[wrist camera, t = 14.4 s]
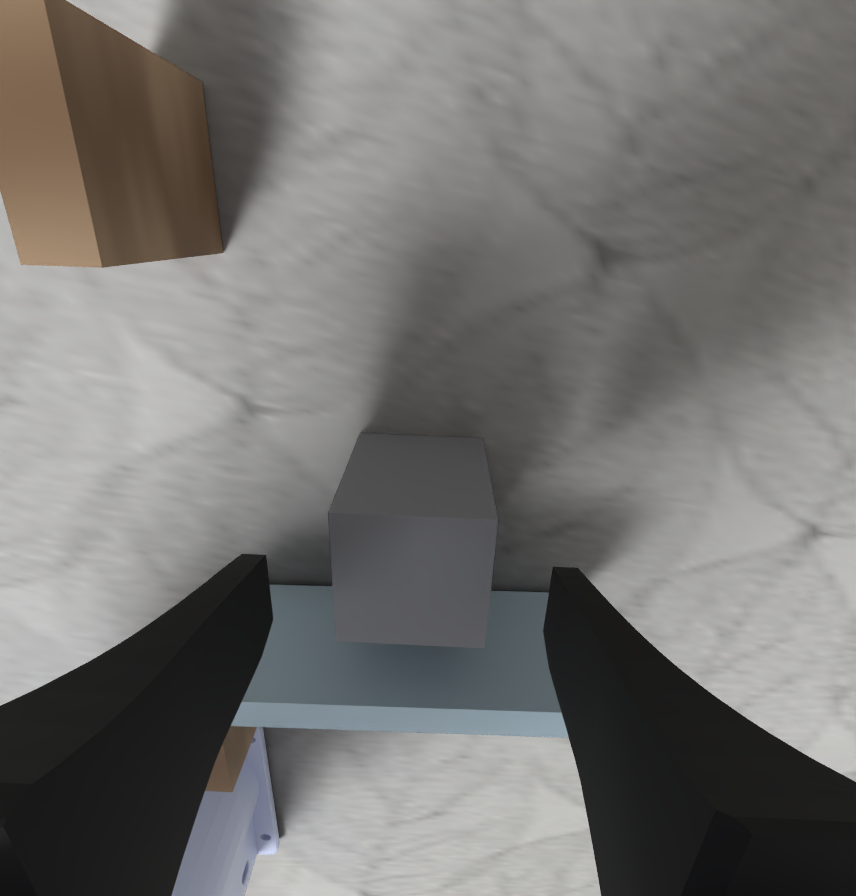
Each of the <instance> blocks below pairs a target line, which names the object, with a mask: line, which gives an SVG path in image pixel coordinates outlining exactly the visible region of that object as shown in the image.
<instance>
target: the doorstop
mask: <svg viewBox="0 0 856 896" xmlns="http://www.w3.org/2000/svg"><path fill="white" fill-rule="evenodd" d="M328 519H329V537H330V555H331V573H332V591H333V609H334V627H335V641H339V642H360V643H381V644H403V645H424V646H445V647H467V648H485V643H486V633H487V623H488V614H489V604H490V595H491V585H492V576H493V566H494V557H495V547H496V537H497V528H498V516H497V510H496V505H495V499H494V494H493V488H492V483H491V478H490V472H489V467H488V461H487V456H486V451H485V445H484V440H483V438H470V437H446V436H422V435H398V434H374V433H360V435H359V437H358V440H357V442H356V445H355V447H354V450H353V452H352V455H351V457H350V460H349V462H348V465H347V467H346V470H345V472H344V474H343V477H342V479H341V482H340V484H339V487H338V489H337V492H336V494H335V497H334V499H333V502H332V504H331V507H330V509H329V512H328Z"/></svg>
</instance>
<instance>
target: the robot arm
mask: <svg viewBox="0 0 856 896" xmlns="http://www.w3.org/2000/svg"><path fill="white" fill-rule="evenodd" d="M272 622H273V611H272V602H271V594H270V585H269V577H268V568H267V559H266V555H254V554H241V555H240V556H239V557H237V558H236V559H235V560H233V561H232V562H231V563H229V564H228V565H227V566H226V567H224V568H223V569H222V570H221V571H219V572H218V573H217V574H216V575H214V576H213V577H212V578H211V579H209V580H208V581H207V582H206V583H204V584H203V585H202V586H200V587H199V588H198V589H196V590H195V591H194V592H193V593H191V594H190V595H189V596H187V597H186V598H185V599H184V600H182V601H181V602H180V603H178V604H177V605H175V606H174V607H173V608H171V609H170V610H168V611H167V612H166V613H164V614H163V615H161V616H160V617H159V618H157V619H156V620H154V621H153V622H151V623H150V624H149V625H147V626H146V627H144V628H143V629H142V630H140V631H138V632H137V633H135V634H134V635H132V636H131V637H129V638H128V639H126V640H125V641H123V642H121V643H120V644H118V645H116V646H115V647H113V648H111V649H110V650H108V651H106V652H105V653H103V654H101V655H100V656H98V657H96V658H95V659H93V660H91V661H89V662H88V663H86V664H84V665H82V666H80V667H78V668H76V669H74V670H72V671H70V672H68V673H67V674H65V675H63V676H61V677H59V678H57V679H55V680H53V681H51V682H49V683H48V684H46V685H44V686H42V687H40V688H38V689H36V690H34V691H31V692H29V693H27V694H25V695H23V696H21V697H19V698H16V699H14V700H12V701H10V702H8V703H6V704H3V705H1V706H0V896H245V892H246V889H247V885H248V882H249V879H250V875H251V872H252V869H253V865H254V862H255V859H256V855H257V854H260V855H272V854H275V853H276V852H277V851H278V848H279V844H280V840H279V834H278V827H277V820H276V813H275V806H274V800H273V793H272V786H271V779H270V772H269V766H268V759H267V752H266V745H265V738H264V732H263V727H257V729H256V731H255V734H254V737H253V739H252V742H251V745H250V747H249V750H248V753H247V755H246V758H245V761H244V763H243V766H242V769H241V771H240V774H239V777H238V779H237V782H236V785H235V787H234V790H233V792H216V791H205V790H206V787H207V784H208V781H209V778H210V775H211V772H212V769H213V766H214V764H215V761H216V759H217V756H218V754H219V751H220V749H221V746H222V744H223V742H224V740H225V737H226V735H227V733H228V731H229V729H230V726H231V724H232V722H233V720H234V718H235V715H236V713H237V711H238V709H239V707H240V704H241V702H242V700H243V698H244V696H245V693H246V691H247V689H248V687H249V685H250V682H251V680H252V678H253V676H254V673H255V671H256V669H257V667H258V664H259V662H260V660H261V658H262V655H263V652H264V648H265V645H266V642H267V639H268V636H269V632H270V629H271V626H272ZM543 634H544V641H545V647H546V654H547V659H548V665H549V670H550V674H551V678H552V681H553V685H554V688H555V692H556V695H557V699H558V702H559V706H560V709H561V712H562V716H563V719H564V723H565V726H566V730H567V733H568V736H569V740H570V743H571V747H572V750H573V754H574V757H575V761H576V765H577V769H578V773H579V777H580V781H581V786H582V791H583V796H584V801H585V807H586V812H587V817H588V822H589V827H590V833H591V839H592V844H593V850H594V855H595V861H596V867H597V872H598V878H599V884H600V890H601V896H856V782H855V781H853V780H851V779H849V778H847V777H845V776H844V775H842V774H840V773H838V772H836V771H834V770H832V769H830V768H829V767H827V766H825V765H823V764H821V763H819V762H817V761H815V760H814V759H812V758H810V757H808V756H807V755H805V754H803V753H802V752H800V751H798V750H797V749H795V748H793V747H792V746H790V745H788V744H787V743H785V742H783V741H781V740H780V739H778V738H776V737H775V736H773V735H772V734H770V733H768V732H767V731H765V730H764V729H762V728H761V727H759V726H757V725H756V724H754V723H753V722H751V721H750V720H748V719H747V718H745V717H744V716H742V715H741V714H740V713H738V712H737V711H735V710H734V709H732V708H731V707H729V706H728V705H726V704H725V703H724V702H722V701H721V700H719V699H718V698H717V697H715V696H714V695H712V694H711V693H710V692H708V691H707V690H706V689H704V688H703V687H702V686H700V685H699V684H698V683H697V682H695V681H694V680H693V679H692V678H690V677H689V676H688V675H687V674H685V673H684V672H683V671H682V670H680V669H679V668H678V667H677V666H675V665H674V664H673V663H672V662H671V661H670V660H668V659H667V658H666V657H665V656H664V655H663V654H662V653H660V652H659V651H658V650H657V649H656V648H655V647H654V646H653V645H652V644H651V643H650V642H648V641H647V640H646V639H645V638H644V637H643V636H642V635H641V634H640V633H639V632H638V631H637V630H636V629H635V628H634V627H633V626H632V625H631V624H630V623H629V622H628V621H627V620H626V619H625V618H624V617H623V616H622V615H621V614H620V613H619V612H618V611H617V610H616V609H615V608H614V607H613V606H612V605H611V604H610V603H609V602H608V601H607V599H606V598H605V597H604V596H603V595H602V594H601V593H600V592H599V591H598V590H597V589H596V587H595V586H594V585H593V584H592V583H591V582H590V581H589V580H588V579H587V578H586V576H585V575H584V574H583V573H582V572H581V571H580V570H579V569H578V568H567V567H553V570H552V577H551V583H550V589H549V596H548V602H547V608H546V614H545V621H544V627H543Z"/></svg>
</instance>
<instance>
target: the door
mask: <svg viewBox="0 0 856 896" xmlns="http://www.w3.org/2000/svg"><path fill="white" fill-rule="evenodd" d="M270 594H271V602H272V611H273V622H272V626H271V629H270V632H269V636H268V639H267V642H266V645H265V648H264V652H263V655H262V658H261V660H260V662H259V664H258V667H257V669H256V671H255V673H254V676H253V678H252V680H251V682H250V685H249V687H248V689H247V691H246V693H245V696H244V698H243V700H242V702H241V704H240V707H239V709H238V711H237V713H236V715H235V718H234V720H233V722H232V724H231V726H246V727H274V728H303V729H331V730H360V731H388V732H417V733H446V734H474V735H503V736H531V737H560V738H569V736H568V733H567V730H566V726H565V723H564V719H563V716H562V712H561V709H560V706H559V702H558V699H557V695H556V692H555V688H554V685H553V681H552V678H551V674H550V670H549V665H548V659H547V654H546V647H545V641H544V634H543V627H544V621H545V614H546V608H547V602H548V596H549V592H514V591H491V595H490V604H489V614H488V623H487V633H486V643H485V648H467V647H445V646H424V645H403V644H381V643H360V642H339V641H335V627H334V609H333V591H332V586H303V585H270Z"/></svg>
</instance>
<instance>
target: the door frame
mask: <svg viewBox="0 0 856 896" xmlns="http://www.w3.org/2000/svg"><path fill="white" fill-rule="evenodd" d="M0 191H1V195H2V198H3V202H4V205H5V209H6V212H7V216H8V220H9V223H10V227H11V230H12V234H13V238H14V241H15V245H16V248H17V252H18V256H19V259H20V263H21V265H47V266H75V267H110V266H119V265H127V264H135V263H144V262H152V261H160V260H169V259H177V258H185V257H194V256H202V255H210V254H218V253H223V246H222V238H221V230H220V222H219V214H218V206H217V198H216V189H215V181H214V173H213V165H212V157H211V149H210V141H209V133H208V125H207V117H206V109H205V101H204V93H203V85H202V81H200V80H198V79H197V78H195V77H193V76H191V75H190V74H188V73H186V72H185V71H183V70H181V69H180V68H178V67H176V66H175V65H173V64H171V63H170V62H168V61H166V60H165V59H163V58H161V57H160V56H158V55H156V54H155V53H153V52H151V51H150V50H148V49H146V48H145V47H143V46H141V45H139V44H138V43H136V42H134V41H133V40H131V39H129V38H128V37H126V36H124V35H123V34H121V33H119V32H118V31H116V30H114V29H113V28H111V27H109V26H108V25H106V24H104V23H103V22H101V21H99V20H98V19H96V18H94V17H93V16H91V15H89V14H87V13H86V12H84V11H82V10H81V9H79V8H77V7H76V6H74V5H72V4H71V3H69V2H67V1H66V0H0ZM256 729H257V727H246V726H230V729H229V731H228V733H227V735H226V737H225V740H224V742H223V744H222V746H221V749H220V751H219V754H218V756H217V759H216V761H215V764H214V766H213V769H212V772H211V775H210V778H209V781H208V784H207V787H206V790H205V791H216V792H233V790H234V787H235V785H236V782H237V779H238V777H239V774H240V771H241V769H242V766H243V763H244V761H245V758H246V755H247V753H248V750H249V747H250V745H251V742H252V739H253V737H254V734H255V731H256Z"/></svg>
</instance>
